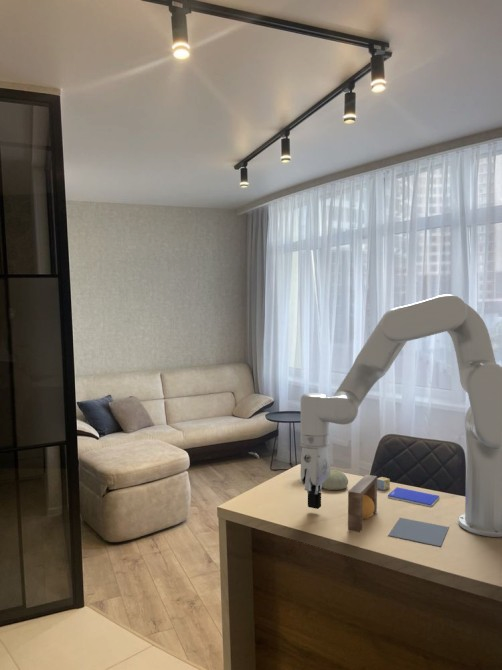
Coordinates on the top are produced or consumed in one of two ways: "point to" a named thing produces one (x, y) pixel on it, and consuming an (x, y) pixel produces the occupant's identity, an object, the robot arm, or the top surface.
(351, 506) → the bridge
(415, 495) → the hard drive
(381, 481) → the alphabet block
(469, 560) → the top surface
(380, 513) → the top surface
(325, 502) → the top surface
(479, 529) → the robot arm
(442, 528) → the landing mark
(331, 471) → the sea urchin shell
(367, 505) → the ball
